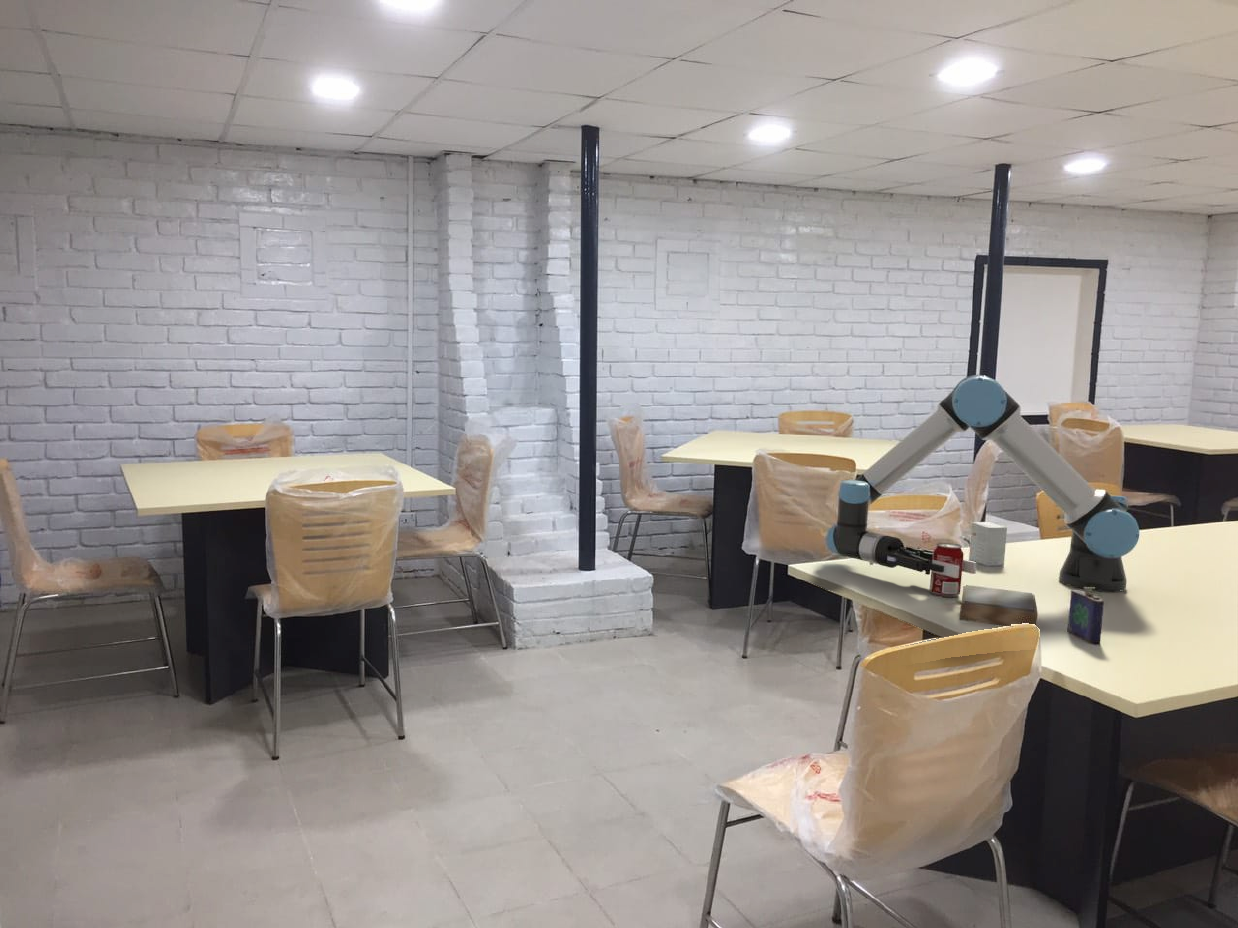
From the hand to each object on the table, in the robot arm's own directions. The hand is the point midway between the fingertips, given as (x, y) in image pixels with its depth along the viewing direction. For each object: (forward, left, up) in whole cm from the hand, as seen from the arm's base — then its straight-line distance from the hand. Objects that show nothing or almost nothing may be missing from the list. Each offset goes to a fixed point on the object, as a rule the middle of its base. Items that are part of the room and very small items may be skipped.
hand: (966, 570), depth 222 cm
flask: (-24, +18, -7) cm, 31 cm away
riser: (-7, +9, -7) cm, 14 cm away
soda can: (+4, -3, -7) cm, 9 cm away
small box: (-5, -45, -7) cm, 45 cm away
